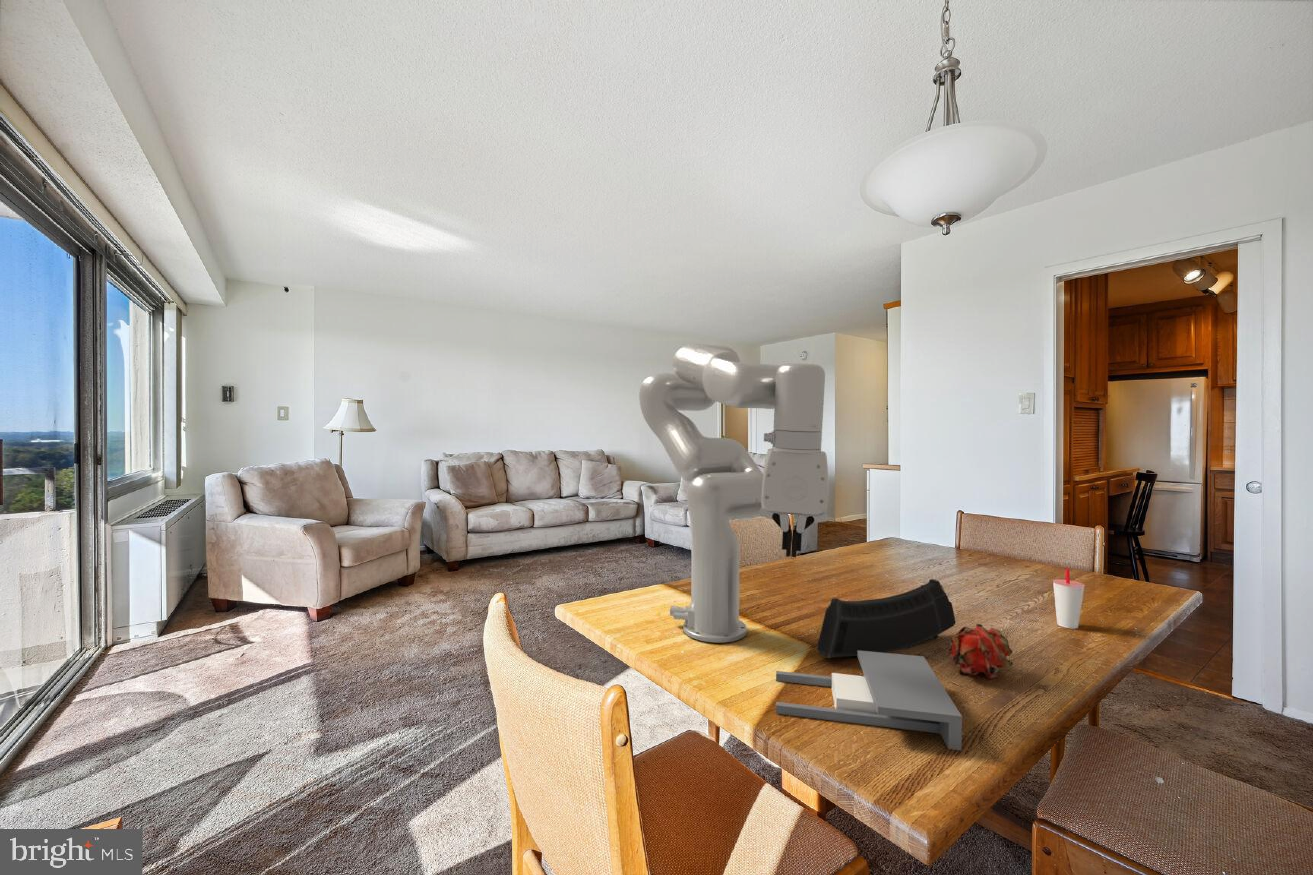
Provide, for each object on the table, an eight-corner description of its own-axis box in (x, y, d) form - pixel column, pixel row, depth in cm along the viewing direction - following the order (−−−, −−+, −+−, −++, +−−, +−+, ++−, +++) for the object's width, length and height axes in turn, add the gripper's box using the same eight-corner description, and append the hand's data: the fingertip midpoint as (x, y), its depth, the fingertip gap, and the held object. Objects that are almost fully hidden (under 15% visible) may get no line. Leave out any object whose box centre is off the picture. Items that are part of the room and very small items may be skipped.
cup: (1046, 623, 112) (1047, 566, 111) (1059, 619, 114) (1061, 563, 114) (1075, 632, 107) (1077, 573, 107) (1089, 627, 109) (1090, 569, 109)
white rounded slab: (836, 715, 76) (836, 698, 76) (831, 688, 84) (831, 672, 84) (920, 726, 73) (920, 708, 73) (907, 697, 81) (907, 680, 81)
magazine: (817, 614, 90) (942, 547, 102) (805, 608, 93) (927, 543, 105) (840, 706, 93) (959, 630, 104) (826, 697, 96) (943, 624, 107)
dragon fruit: (1007, 676, 92) (962, 701, 86) (966, 634, 97) (922, 655, 92) (1036, 649, 86) (991, 674, 81) (991, 606, 92) (946, 627, 87)
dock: (775, 726, 73) (776, 695, 73) (776, 668, 90) (776, 642, 90) (961, 750, 68) (962, 716, 68) (923, 683, 85) (923, 656, 85)
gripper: (747, 441, 83) (742, 556, 85) (848, 446, 80) (841, 566, 81) (751, 438, 90) (746, 544, 92) (844, 442, 87) (837, 553, 88)
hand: (791, 554), depth 86 cm, fingers closed
